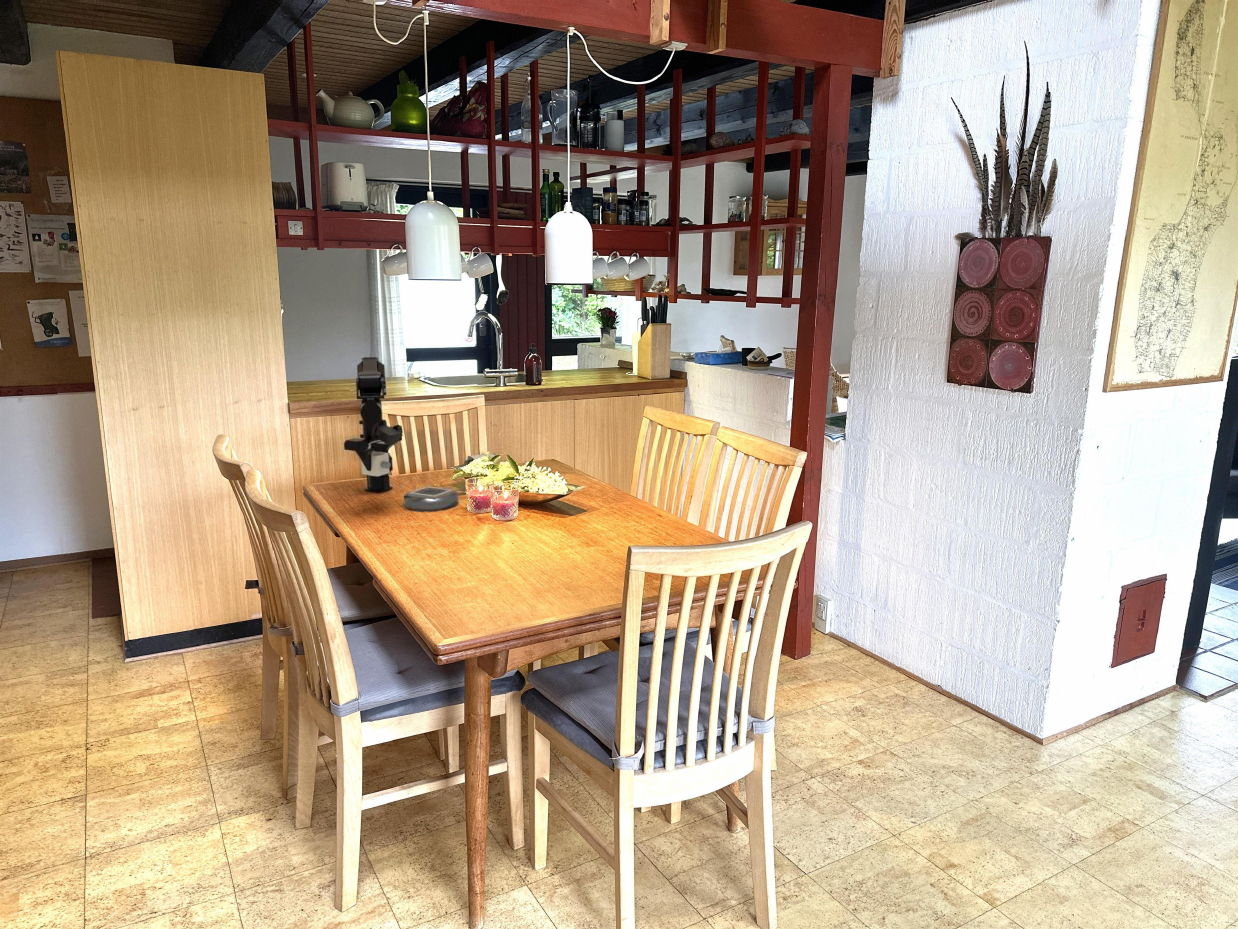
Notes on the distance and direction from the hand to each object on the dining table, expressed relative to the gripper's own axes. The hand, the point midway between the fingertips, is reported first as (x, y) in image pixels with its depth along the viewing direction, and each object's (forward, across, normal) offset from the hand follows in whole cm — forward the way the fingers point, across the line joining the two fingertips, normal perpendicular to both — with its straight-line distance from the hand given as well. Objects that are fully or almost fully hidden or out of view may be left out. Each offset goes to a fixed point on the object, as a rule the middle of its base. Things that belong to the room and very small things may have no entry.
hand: (375, 469), depth 250 cm
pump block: (+1, 0, 0) cm, 1 cm away
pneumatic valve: (+12, +32, -16) cm, 38 cm away
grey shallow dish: (+12, +10, -12) cm, 20 cm away
